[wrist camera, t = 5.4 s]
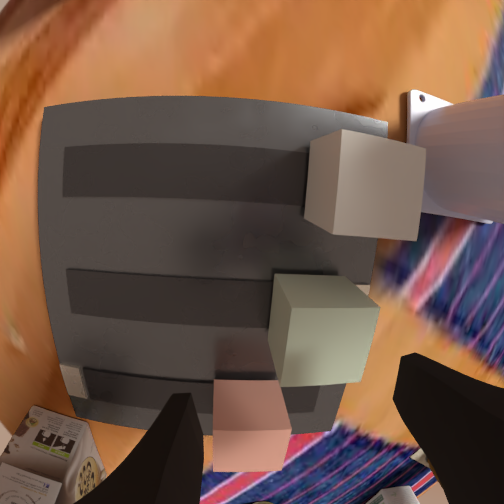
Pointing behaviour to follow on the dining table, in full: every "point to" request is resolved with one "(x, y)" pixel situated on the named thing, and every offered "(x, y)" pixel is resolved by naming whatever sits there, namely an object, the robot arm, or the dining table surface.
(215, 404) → the coral slider
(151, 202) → the slider track board
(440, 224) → the dining table surface
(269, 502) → the lime
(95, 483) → the coffee box
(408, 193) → the grey slider
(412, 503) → the syrup box
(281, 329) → the sage slider
